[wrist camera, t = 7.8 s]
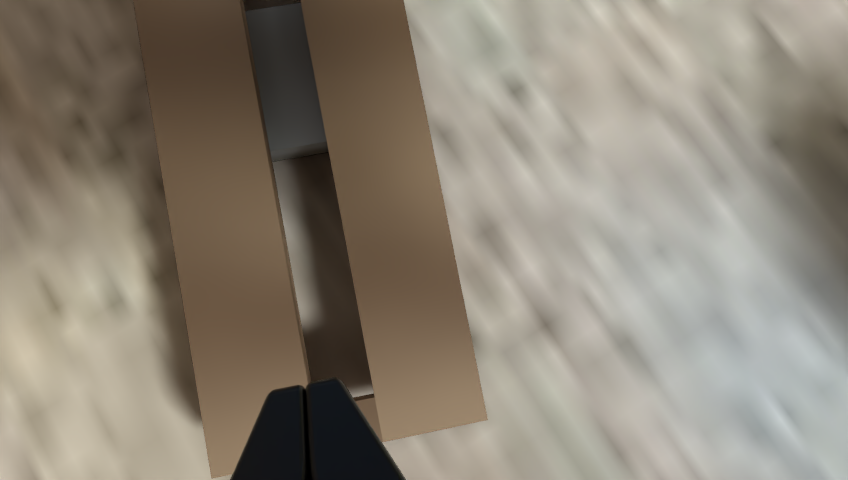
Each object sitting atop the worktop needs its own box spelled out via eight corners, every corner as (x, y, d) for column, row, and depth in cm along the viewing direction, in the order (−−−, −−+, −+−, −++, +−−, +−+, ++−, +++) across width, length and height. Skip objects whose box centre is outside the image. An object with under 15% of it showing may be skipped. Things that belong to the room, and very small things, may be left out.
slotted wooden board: (478, 409, 19) (492, 419, 17) (225, 462, 19) (206, 480, 16) (348, -241, 21) (346, -306, 19) (113, -212, 20) (83, -275, 18)
